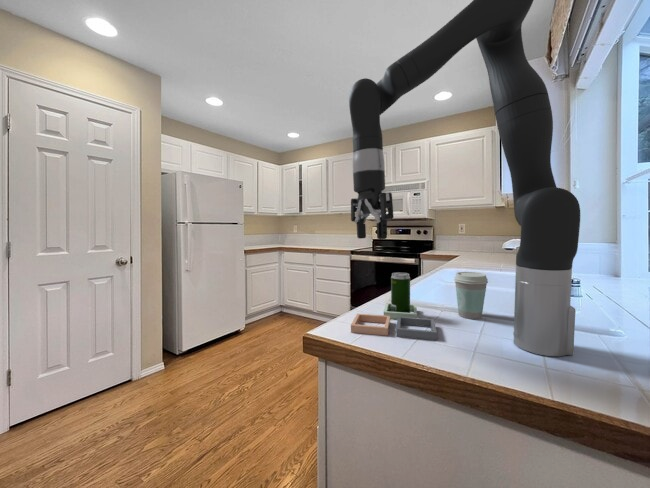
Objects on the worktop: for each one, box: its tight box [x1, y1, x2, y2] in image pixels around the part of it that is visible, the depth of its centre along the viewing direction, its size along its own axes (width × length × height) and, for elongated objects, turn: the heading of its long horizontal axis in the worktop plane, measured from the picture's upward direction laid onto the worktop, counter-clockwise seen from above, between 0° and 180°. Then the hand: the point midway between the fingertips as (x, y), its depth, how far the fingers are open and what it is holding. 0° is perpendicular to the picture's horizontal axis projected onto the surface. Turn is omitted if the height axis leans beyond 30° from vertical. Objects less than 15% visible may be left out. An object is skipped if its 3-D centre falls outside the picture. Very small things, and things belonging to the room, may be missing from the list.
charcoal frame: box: [395, 317, 438, 341], centre depth 70 cm, size 9×9×2 cm
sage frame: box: [383, 302, 418, 320], centre depth 82 cm, size 9×9×2 cm
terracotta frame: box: [350, 313, 391, 336], centre depth 73 cm, size 9×9×2 cm
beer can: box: [390, 271, 411, 313], centre depth 82 cm, size 5×5×12 cm
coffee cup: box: [453, 271, 489, 320], centre depth 79 cm, size 8×8×12 cm
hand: (371, 238), depth 68 cm, fingers open, 8 cm apart
